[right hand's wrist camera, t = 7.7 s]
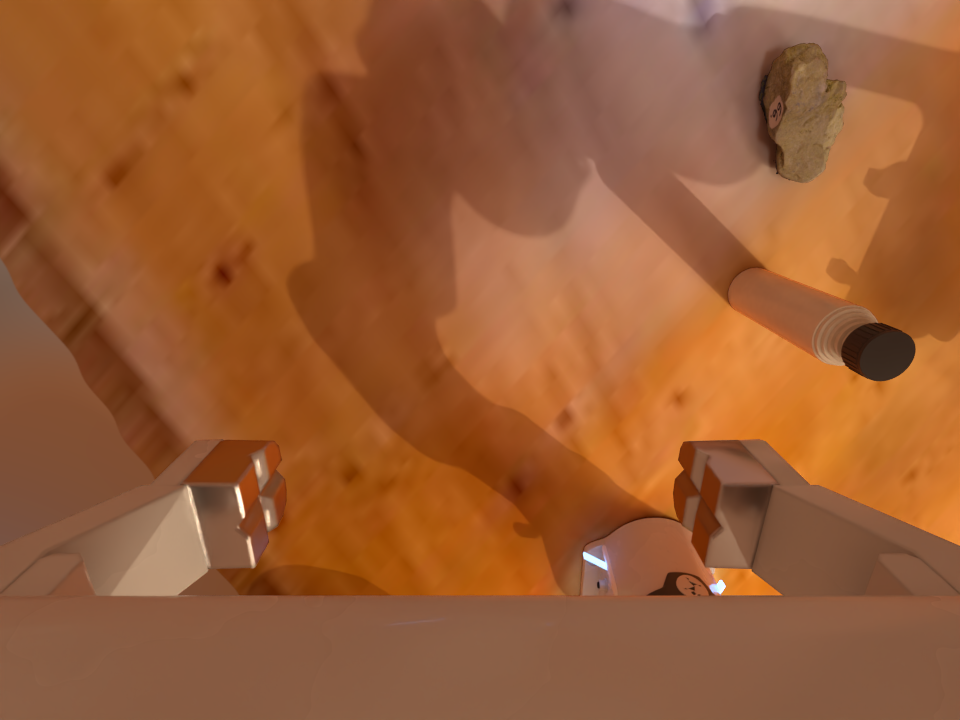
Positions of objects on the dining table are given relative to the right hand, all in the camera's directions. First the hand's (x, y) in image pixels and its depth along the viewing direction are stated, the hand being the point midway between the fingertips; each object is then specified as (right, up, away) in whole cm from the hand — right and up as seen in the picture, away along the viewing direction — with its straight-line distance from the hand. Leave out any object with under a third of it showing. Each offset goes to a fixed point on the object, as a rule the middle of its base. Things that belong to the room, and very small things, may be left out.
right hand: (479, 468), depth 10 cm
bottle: (+31, +10, +48) cm, 58 cm away
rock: (+31, +27, +41) cm, 58 cm away
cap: (+31, +3, +29) cm, 42 cm away
